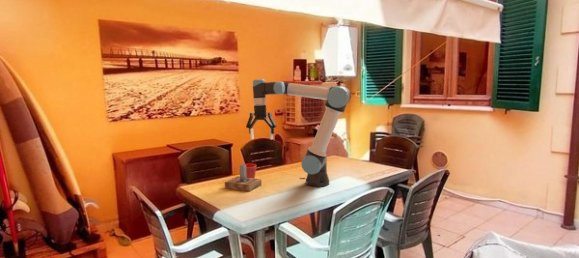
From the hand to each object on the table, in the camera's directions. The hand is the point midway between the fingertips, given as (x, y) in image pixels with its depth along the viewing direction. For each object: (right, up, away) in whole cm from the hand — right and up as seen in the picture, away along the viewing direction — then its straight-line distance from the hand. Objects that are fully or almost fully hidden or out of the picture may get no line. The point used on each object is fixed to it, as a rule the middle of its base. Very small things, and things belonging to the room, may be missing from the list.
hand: (261, 139), depth 214 cm
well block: (-12, -30, +2) cm, 32 cm away
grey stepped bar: (-12, -30, +2) cm, 32 cm away
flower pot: (-10, -28, +19) cm, 35 cm away
